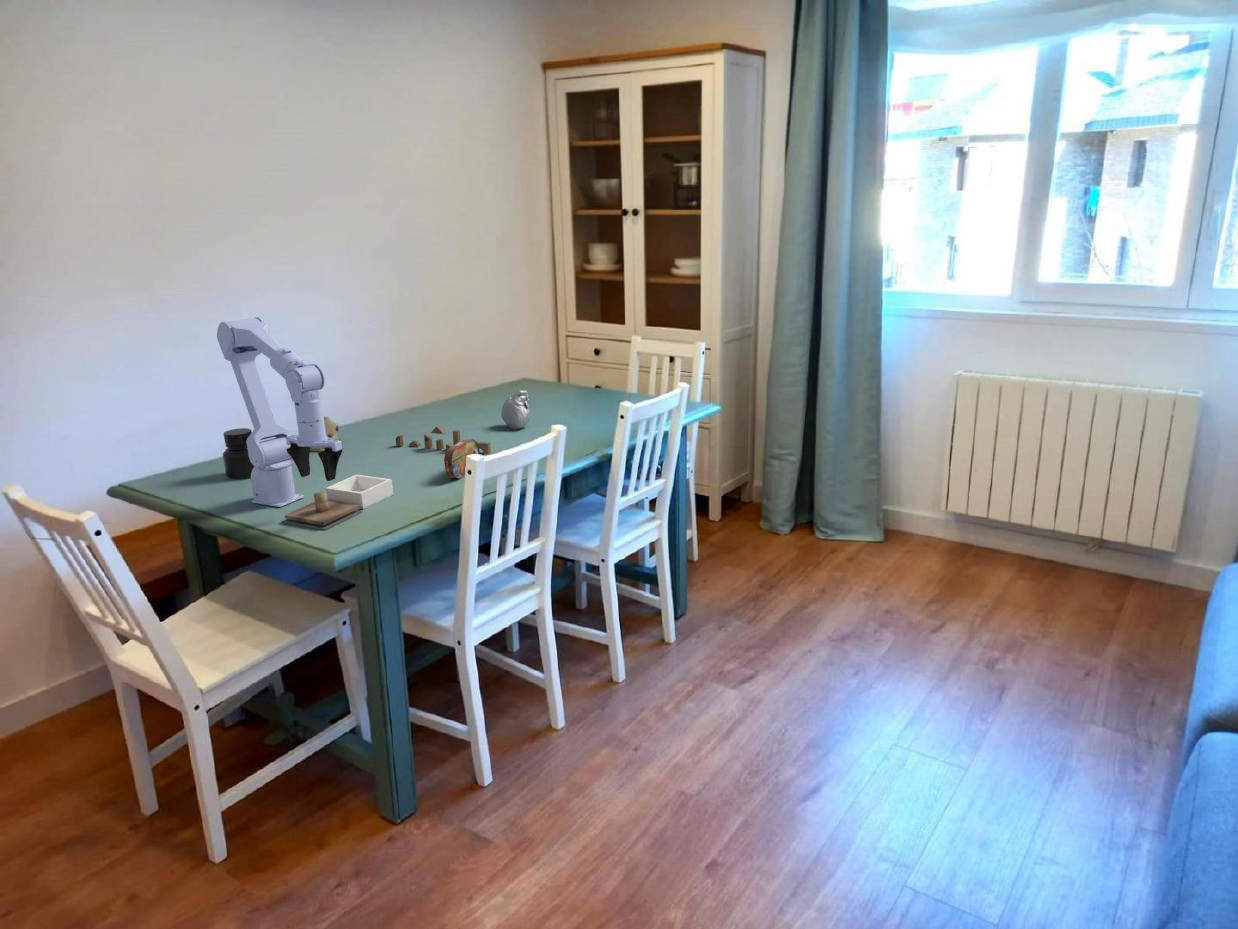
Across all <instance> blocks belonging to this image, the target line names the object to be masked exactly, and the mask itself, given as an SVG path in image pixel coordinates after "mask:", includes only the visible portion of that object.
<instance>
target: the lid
mask: <svg viewBox="0 0 1238 929" xmlns="http://www.w3.org/2000/svg"><path fill="white" fill-rule="evenodd" d="M313 498H314V501H313V502H311V503H308V504H306V505H305V506H302V507H300V508H298V509H296V510H292V511H291V512H289V513H287V514H284V519H291V520H297V521H302V522H308V523H313V524H319V525H326V524H328V523H330V522H332V521H334V520H336V519H338V518H341V517H343V516H345V515H347V514H349V513H351V512H353V511H355V510H360V509H359V508H360V506H359V505H356V504H350V503H344V502H338V501H332V500H328V499H327V493H326V491H317V492H314V493H313Z"/></svg>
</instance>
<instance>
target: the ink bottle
mask: <svg viewBox="0 0 1238 929" xmlns="http://www.w3.org/2000/svg"><path fill="white" fill-rule="evenodd" d="M252 432H253V431H252V429H251V428H234V429H229V430H226V431H224V432H223V434H222V435H223V438H224V444H225V447H226V449H225V450H224V451H223V452H222V458H223V464H224V465H223V466H224V470H225V477H226V478H228V479H230V480H244V479H245V480H246V479H251V472H252V470H253V468H254V467H255V466H254V465H253V464H252V463H251V461H250V459H249V455H248V447H247V442H246V440H247V439H248V437H249V436H250V434H251V433H252Z"/></svg>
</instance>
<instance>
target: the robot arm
mask: <svg viewBox="0 0 1238 929" xmlns="http://www.w3.org/2000/svg"><path fill="white" fill-rule="evenodd" d="M216 339H217V342H218V344H219V348H220V351H221V353H222V355H223V358H224V359H225V360H227V361H229V362H230V364H231V366H232V370H233V372H234V376H235V378H236V379H235V380H236V381H237V385H238V386H239V390H240V393H241V395H242V398H243V401H244V404H245V407H246V411H247V412H248V416H249V418H250V421H251V423H252V427H253V431H252V433H251V434H250V436H249V437H248V439H247V440H246V442H247V447H248V455H249V459H250V461H251V463H252V464H253V465H254V466H255V467H254V468H253V470H252V472H251V478H250V481H251V482H250V483H251V489H252V494H253V499H252V500H251V503H252V504H259V505H264V506H270V507H277V508H281V507H285V506H288V505H289V504H291V503H294V502H296V501H298V500H300V499H302V498H304V497H305V496H304V494H299V493H296V490H295V489H296V488H295V482H294V474H293V469H292V468H293V467H292V465H293V464H294V463H295V464H294V465H295V466H296V468H297V470H298V472H299V475H300V477H301V478H305V477H308V476H310V474H311V466H310V452H311V450H310V447H314V448H322V449H325V451H318V452H317V455H318V457H319V459H320V461H321V464H322V467H323V472H324V477H325V480H326V482H330V481H333V480H335V479H336V475H337V468H338V463H339V460H340V457H341V455H342V453H343V448H342V447H343V446H342V445H341V441H338V440H334V439H332V438H329V437H326V431H325V424H324V417H325V415H324V410H323V401H322V395H321V390H323V388H324V386H325V376H324V373H323V370H322V369H321V368H320V366H319V365H318V364H317V363H310V362H309V363H307V362H305V361H304V360H303V359H302V358H301V357H299V355H297V353H296V352H294V350H292V349H291V348H290V347H281V345H280V344H279V343H278V342H277V341H276V340H275V339H274V338H273V337H272V335H271V334H270V330H269V326H268V324H267V322H266V321H265V320H264V319H262V318H261V317H259V316H256V317H254V318H246V319H240V320H239V319H238V320H233V321H232V320H231V321H221V322H220V323H219V324H218V327H217V332H216ZM261 354H262V355H264V356H265V357H266V358H268V359H269V365H270V367H271V368H272V369H273V370H274V371H275V372H276V373H278V374H279V375H280V376H281V378H283V379H284V380H285V381H284V382H285V384H286V385H285V386H286V388H287V390H288V392H289V394H290V400H291V401H292V402H293V405H294V409H295V410H294V411H295V416H296V418H295V419H296V423H297V424H296V426H297V432H298V434H291V432H290V431H289V428H287V427H285V426H282V425H281V424H278V423H277V422H276V420H275V416H274V413H273V410H272V408H271V405H270V402H269V399H268V396H267V393H266V390H265V388H264V385H263V382H262V379H261V376H260V374H259V370H258V368H257V365H256V363H255V361H256V357H257V356H259V355H261Z"/></svg>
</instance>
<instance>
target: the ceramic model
mask: <svg viewBox="0 0 1238 929" xmlns="http://www.w3.org/2000/svg"><path fill="white" fill-rule="evenodd" d="M324 424H325V431H326V437H329V438H332V439H334V440H338V441H341V446H342V445H343V439H342V438H341V437H340V436H338V432H339V431H340V427H339V425H338V423H336V422H335V421H334V420H332V419H331V418H330V416H324ZM311 451H314V452H321V451H325V449H322V448H314V447H310V452H311Z"/></svg>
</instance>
